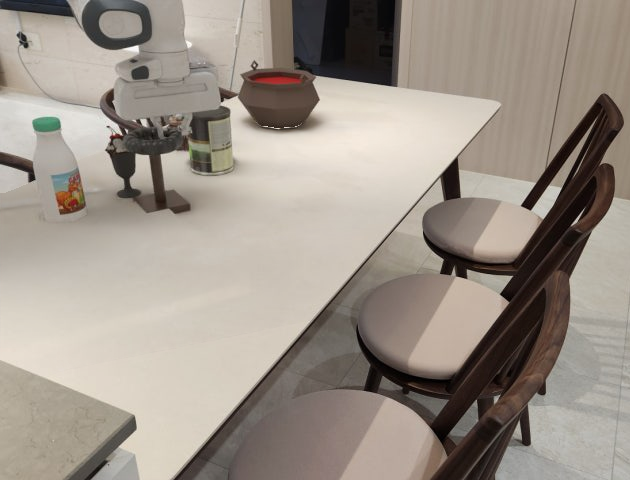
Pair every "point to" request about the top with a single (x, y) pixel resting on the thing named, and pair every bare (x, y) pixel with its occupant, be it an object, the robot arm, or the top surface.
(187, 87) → the robot arm
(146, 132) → the tire
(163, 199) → the peg stand
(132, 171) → the sundae
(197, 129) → the coffee can
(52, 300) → the top surface
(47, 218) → the milk bottle
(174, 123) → the cupcake
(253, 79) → the cauldron
